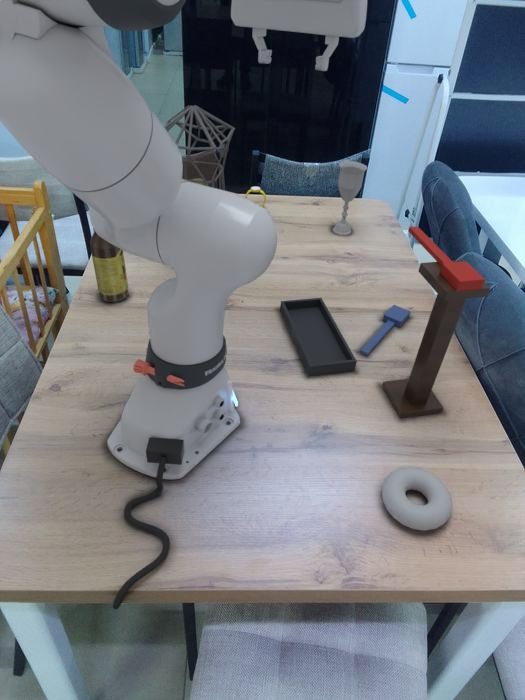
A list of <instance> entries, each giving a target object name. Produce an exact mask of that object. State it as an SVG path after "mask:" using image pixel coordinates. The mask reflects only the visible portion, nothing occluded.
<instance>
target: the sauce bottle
mask: <svg viewBox="0 0 525 700" xmlns="http://www.w3.org/2000/svg"><path fill="white" fill-rule="evenodd" d="M92 229H93V233H92V235H91V237H90V240H89V246H90V250H91V258H92V264H93V269H94V274H95V280H96V285H97V291H99V296H100V299H101V300H102V301H104V302H107V303H115V302H121V301H122V300H125V299H126V298H127V297H128V295H129V281H128V276H127V268H126V262H125V256H124V251H123V250H122V249H120V248H118V247H116V246H114V245H113V244H111V243H109V242H108V241H106V240H104V239H103V238H101V237H100V236H99V235H98V234H97V233H96V232H95V230H94V228H93V227H92Z"/></svg>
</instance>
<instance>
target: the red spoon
mask: <svg viewBox="0 0 525 700" xmlns="http://www.w3.org/2000/svg"><path fill="white" fill-rule="evenodd" d="M407 232H408V233H409V234H410V235H411V236H412V237H413V238H414V239H415V240H416V242H418V243H419V244H420V246H421V247H422V248H424V250H425V251H426V252H427V253H428V254H429V255H430V256H431V257H432V258H433V259H434V260H435V262H438V263H439V264H440V265H441V269H440V274H441V275H442V276H443V277H444V278H445V279H446V280H447V281H448V282H449V283H450V284H451V285H452V287H453V288H454V289H455V290H456V291H462V290H474V289H482V286H483V284H484V282H485V281H486V278H485V277H483V275H482V274H480V272H478V270H476V269H475V268H474V267H473V266H472V265H471V264H470V263H469V262H468V261H463V262H452V261H453V260H451V258H450V257H449V256H447V254H445V252H444V251H443V250H442V249H440V247H439V246H438V245H437V244H436V243H435V242H434V241H433V240H432V239H431V237H429V236H428V235H427V234H426V233H425V231H423V230H422V229H421V228H420V226H409V227H408V230H407Z"/></svg>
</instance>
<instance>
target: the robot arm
mask: <svg viewBox="0 0 525 700" xmlns="http://www.w3.org/2000/svg"><path fill="white" fill-rule="evenodd" d="M186 1H187V0H0V122H1V123H2V125H3V126H4V128H5V129H6V130H7V131H8V132H9V133H10V134H11V136H12V137H13V138H14V139H15V140H16V141H17V142H18V144H19V145H20V146H21V147H22V149H23V150H25V151H26V152H27V154H29V156H30V157H32V159H33V160H34V161H35V162H36V163H37V164H38V165H40V166H41V168H43V169H44V171H46V172H47V173H48V174H50V175H51V176H52V177H53V178H54V179H55V180H56V181H58V182H59V183H60V184H61V185H62V186H64V187H65V188H66V189H67V190H68V191H70V192H71V193H72V194H73V195H75V196H76V197H77V198H79V199H80V200H81V201H82V202H83V203H84V204H86V205H87V206H88V214H89V220H90V223H91V226H92V229H93V228H94V230H95V232H96V233H97V234H98V235H99V236H100V237H101V238H103V239H104V240H106V241H108V242H109V243H111V244H113V245H114V246H116V247H118V248H120V249H122V250H123V252H125V253H128V254H130V255H133V256H136V257H138V258H142V259H145V260H149V261H151V262H154V263H158V264H161V265H164V266H167V267H170V268H171V269H172V270H173V271H174V273H175V277H172V278H170V279H167V280H165V281H163V282H161V283H160V284H158V285H157V286H156V287H155V288H154V289H153V291H152V292H151V294H150V296H149V298H148V301H147V304H146V312H147V322H148V331H149V332H148V333H149V339H148V342H147V343H148V344H147V347H146V352H145V353H146V355H145V361H144V360H142V359H141V358H139V359H137V360H135V362H134V364H133V369H132V371H133V372H134V373H136V374H141V375H140V376H139V378H138V380H137V382H136V384H135V386H134V388H133V390H132V392H131V394H130V396H129V398H128V399H127V401H126V403H125V405H124V408H123V410H122V413H121V417H120V419H119V421H118V423H116V426H115V427H114V429H113V430H112V432H111V434H110V435H109V437H108V438H107V443H106V444H107V448H108V450H109V452H110V454H112V456H113V457H115V459H116V460H118V461H119V462H120V463H122V464H123V465H125V466H127V467H128V468H130V469H131V470H134V471H136V472H139V473H141V474H143V475H146V476H149V477H152V478H154V479H155V483H156V488H155V490H153V491H152V492H150V493H148V494H146V495H142V496H139V497H136V498H133V499H132V500H130V501H128V502H127V503H126V505H125V506H124V509H123V516H124V519H125V521H126V522H127V523H128V524H130V525H131V526H133V527H135V528H138V529H141V530H143V531H145V532H146V531H147V532H150V533H152V534H154V535H157V536H158V537H159V538H160V539H161V541H162V544H163V545H162V549H161V552H160V554H159V555H158V556H157V557H156V558H155V559H154V560H153V561H152V562H150V563H149V564H147V565H145V566H144V567H143V568H141V569H140V570H138V571H137V572H136V573H134V574H133V575H132V576H131V577H129V579H127V580H126V581H125V582H124V584H122V586H121V587H120V588H119V590H118V592H117V594H116V595H115V597H114V600H113V604H112V609H113V610H118V609H119V608H120V607H121V605H122V602H123V600H124V598H125V596H126V594H127V593H128V591H129V590H130V589H131V588H132V587H133V586H134V585H135V584H136V583H137V582H139V581H140V580H141V579H143V578H144V577H146V576H147V575H148V574H150V573H151V572H153V571H154V570H156V569H157V568H158V567H159V566H161V564H162V563H164V561H165V560H166V558H167V557H168V554H169V552H170V548H171V541H170V537H169V536H168V534H167V532H166V531H164V530H163V529H162V528H159V527H157V526H155V525H152V524H149V523H146V522H143V521H141V520H138V519H136V518H135V517H134V516H132V513H131V511H132V508H134V507H135V506H137V505H139V504H143V503H146V502H149V501H152V500H153V499H155V498H157V497H158V496H159V495H160V494H161V493H162V491H163V490H164V483H163V480H181V479H182V478H184V477H185V476H186V475H188V473H189V472H190V471H191V470H193V469H194V468H195V467H196V466H197V465H199V463H200V462H201V461H203V459H204V458H206V457H207V456H208V454H210V453H211V452H212V451H213V450H214V449H215V448H217V446H219V445H220V444H221V443H222V442H223V441H224V440H225V439H226V438H227V437H229V435H231V433H233V432H234V431H235V430H236V429H237V428H239V426H240V424H241V417H240V415H239V413H238V412H237V410H236V409H235V407H239V401H238V399H237V397H236V393H235V391H234V389H233V383H232V380H231V378H230V375H229V372H228V370H227V367H226V362H227V354H228V345H227V341H226V337H225V334H224V330H225V329H224V328H225V316H226V315H225V314H226V307H227V303H228V300H229V299H230V297H231V295H232V294H233V293H234V292H235V291H236V290H237V289H239V288H240V287H243V286H244V285H248V284H251V283H253V282H255V281H256V280H257V279H258V278H260V277H261V276H262V275H263V274H264V273H265V272H266V271H267V270H268V269H269V267H270V265H271V264H272V262H273V260H274V258H275V254H276V251H277V246H278V231H277V226H276V223H275V220H274V218H273V216H272V213H271V211H269V209H267V208H266V207H264V206H263V207H262V206H260V205H261V204H258V203H257V202H255V201H252V200H251V199H248V198H247V199H246V198H245V197H244V196H242V195H240V194H238V193H237V192H232V191H228V190H225V191H224V190H223V189H221V190H220V189H219V188H218V187H217V188H216V187H215V188H213V187H212V186H209V185H208V186H205V185H201V184H197V183H193V182H190V181H187V180H184V178H183V176H184V174H183V173H184V163H182V159H183V156H182V153H181V149H179V148H178V146H179V145H178V146H177V144H176V143H175V142H176V140H174V138H173V137H172V136H171V134H170V133H168V132H169V131H167V130H166V128H165V126H164V124H163V123H162V121H161V120H160V119H159V117H158V116H157V114H156V113H155V111H154V109H152V107H151V106H150V104H149V103H148V101H147V100H146V99H145V98H144V96H143V94H142V93H141V92H140V91H139V89H138V88H137V87H136V85H135V84H134V83H133V82H132V80H131V79H130V78H129V77H128V76H127V75H126V73H125V71H124V70H122V69H121V67H119V66H118V65H117V62H116V59H115V58H114V55H113V54H112V51H111V49H110V46H109V43H108V40H107V36H106V33H105V28H106V27H110V28H112V29H114V30H117V31H120V32H136V31H139V32H140V31H146V30H152V29H156V28H160V27H162V26H166V25H168V24H170V23H172V22H173V21H174V20H175V19H176V18H177V16H178V15H179V14H180V12H181V10H182V8H183V7H184V5H185V3H186ZM367 12H368V0H231V6H230V19H231V20H232V22H233V25H235V26H236V27H243V28H252V32H251V33H252V34H251V35H252V39H253V41H254V45H255V46H256V48H257V50H258V53H257V55H258V57H257V62H258V63H259V64H264V65H266V64H267V65H268V64H271V62H272V57H271V56H272V55H273V54H272V53H273V50H272V49H268V48H267V45H266V42H265V39H264V37H266V36H267V30H272V31H273V30H274V31H282V32H293V33H303V34H310V35H311V34H312V35H321V36H325V38H324V39H325V40H324V44H325V45H327V47H326V49H324V51H323V54H322V55H318V56H315V65H314V69H315V71H321V72H327V71H328V69H329V62H330V57H331V56H332V55H333V53H334V51H335V50H336V48H337V47H338V45H339V41H340V37H342V38H350V39H354V38H358V37H360V36H361V34H362V33H363V32H364V31H365V27H366V21H367ZM104 27H105V28H104ZM94 230H93V231H94Z"/></svg>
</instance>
